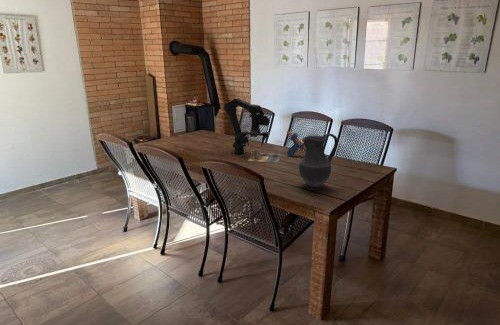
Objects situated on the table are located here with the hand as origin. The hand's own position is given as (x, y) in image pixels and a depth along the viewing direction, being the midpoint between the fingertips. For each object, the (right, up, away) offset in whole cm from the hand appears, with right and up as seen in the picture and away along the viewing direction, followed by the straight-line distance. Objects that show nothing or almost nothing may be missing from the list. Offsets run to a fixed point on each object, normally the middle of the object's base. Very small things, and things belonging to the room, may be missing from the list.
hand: (255, 146), depth 239 cm
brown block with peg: (0, -8, +1) cm, 8 cm away
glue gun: (+35, -8, +8) cm, 36 cm away
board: (+6, -10, 0) cm, 12 cm away
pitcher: (+34, -25, -47) cm, 63 cm away
